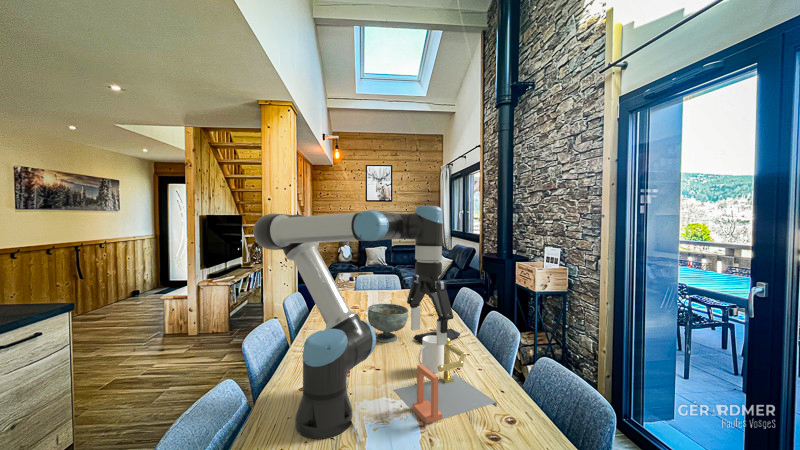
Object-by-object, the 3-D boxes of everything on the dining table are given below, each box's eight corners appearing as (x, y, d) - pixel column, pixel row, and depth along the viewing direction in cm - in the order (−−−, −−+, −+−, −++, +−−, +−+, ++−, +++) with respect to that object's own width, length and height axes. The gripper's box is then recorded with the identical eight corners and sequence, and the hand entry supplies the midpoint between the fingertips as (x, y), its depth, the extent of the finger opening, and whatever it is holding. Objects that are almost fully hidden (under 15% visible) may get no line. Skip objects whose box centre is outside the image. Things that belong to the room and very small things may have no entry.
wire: (439, 412, 91) (439, 360, 91) (410, 386, 106) (411, 341, 106) (480, 400, 97) (480, 352, 98) (447, 377, 112) (448, 335, 112)
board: (425, 428, 85) (425, 424, 85) (393, 393, 103) (393, 390, 103) (496, 406, 96) (496, 402, 96) (456, 378, 114) (456, 374, 114)
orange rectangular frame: (427, 425, 85) (428, 379, 85) (411, 407, 93) (411, 366, 93) (443, 420, 87) (443, 375, 87) (426, 403, 95) (426, 362, 95)
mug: (425, 381, 112) (425, 346, 112) (409, 372, 119) (410, 339, 119) (449, 372, 119) (449, 339, 119) (433, 364, 125) (434, 333, 126)
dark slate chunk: (465, 339, 155) (465, 329, 155) (430, 349, 143) (430, 338, 143) (443, 331, 168) (443, 322, 168) (409, 339, 155) (410, 329, 155)
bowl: (408, 346, 144) (408, 313, 144) (365, 346, 144) (365, 312, 144) (407, 332, 164) (408, 302, 164) (369, 331, 164) (370, 302, 164)
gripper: (467, 265, 81) (466, 349, 81) (417, 256, 103) (416, 322, 103) (443, 266, 78) (442, 354, 78) (396, 257, 100) (395, 326, 100)
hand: (427, 336), depth 90 cm, fingers open, 13 cm apart
